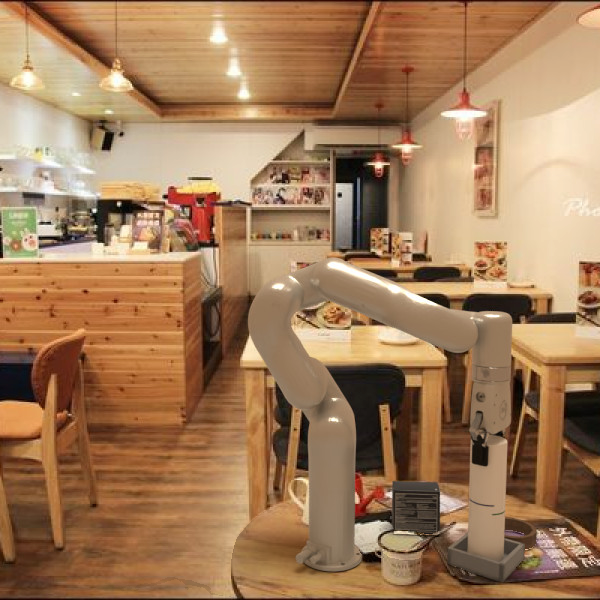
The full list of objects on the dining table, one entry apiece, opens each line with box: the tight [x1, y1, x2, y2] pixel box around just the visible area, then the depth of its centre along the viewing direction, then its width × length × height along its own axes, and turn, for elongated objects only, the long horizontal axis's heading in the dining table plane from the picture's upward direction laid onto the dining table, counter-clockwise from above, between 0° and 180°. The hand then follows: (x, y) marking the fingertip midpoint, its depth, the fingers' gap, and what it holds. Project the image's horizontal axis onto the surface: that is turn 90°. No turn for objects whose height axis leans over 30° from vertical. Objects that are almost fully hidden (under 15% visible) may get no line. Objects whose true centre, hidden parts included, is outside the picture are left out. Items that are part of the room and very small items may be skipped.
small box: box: [391, 480, 441, 534], centre depth 154 cm, size 11×6×10 cm, turn 84°
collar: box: [504, 516, 538, 549], centre depth 149 cm, size 11×11×3 cm
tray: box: [446, 531, 526, 583], centre depth 139 cm, size 12×12×4 cm
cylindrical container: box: [467, 434, 508, 562], centre depth 138 cm, size 7×7×25 cm
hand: (488, 459), depth 137 cm, fingers open, 7 cm apart
